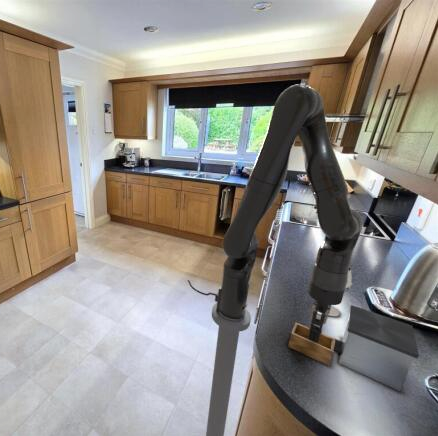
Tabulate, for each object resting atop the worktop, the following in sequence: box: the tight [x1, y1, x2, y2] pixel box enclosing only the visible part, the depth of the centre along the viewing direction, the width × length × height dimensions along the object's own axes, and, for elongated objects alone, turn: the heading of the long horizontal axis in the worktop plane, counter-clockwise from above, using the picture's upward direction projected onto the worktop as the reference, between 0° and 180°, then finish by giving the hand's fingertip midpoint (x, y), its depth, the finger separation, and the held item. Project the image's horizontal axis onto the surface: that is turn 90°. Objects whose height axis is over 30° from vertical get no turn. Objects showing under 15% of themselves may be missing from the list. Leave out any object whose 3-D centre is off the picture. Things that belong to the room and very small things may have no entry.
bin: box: [333, 304, 420, 392], centre depth 66 cm, size 14×13×12 cm
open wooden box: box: [287, 322, 336, 367], centre depth 71 cm, size 10×6×5 cm, turn 49°
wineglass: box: [327, 266, 353, 318], centre depth 85 cm, size 8×8×18 cm
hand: (315, 331), depth 69 cm, fingers open, 8 cm apart
